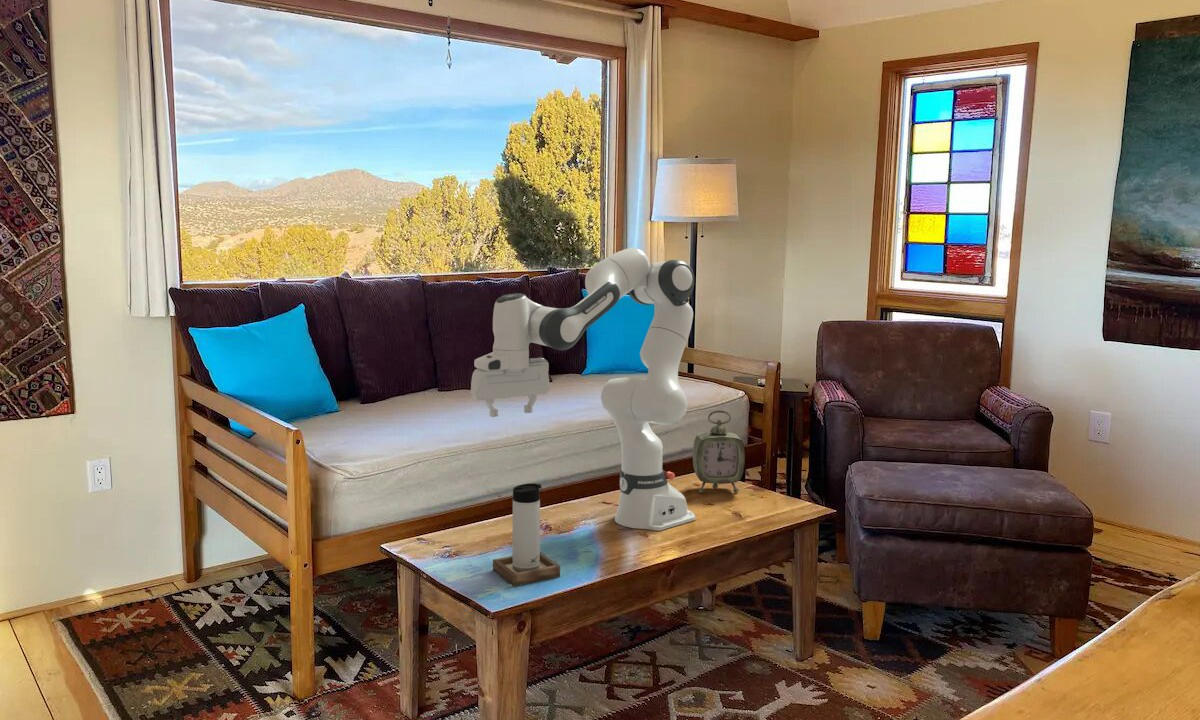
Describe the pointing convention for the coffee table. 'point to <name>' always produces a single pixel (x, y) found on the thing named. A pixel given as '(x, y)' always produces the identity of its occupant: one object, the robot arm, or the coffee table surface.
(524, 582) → the tray
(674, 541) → the coffee table surface
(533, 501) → the travel mug
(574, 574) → the coffee table surface
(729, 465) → the tabletop clock
